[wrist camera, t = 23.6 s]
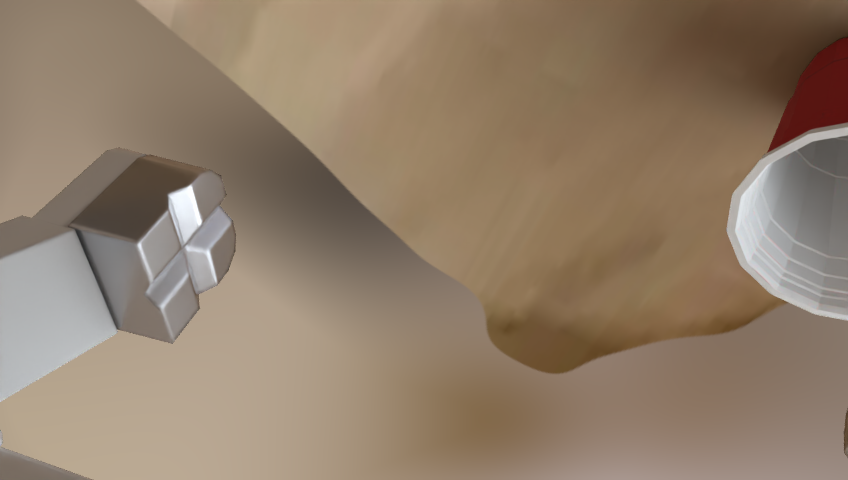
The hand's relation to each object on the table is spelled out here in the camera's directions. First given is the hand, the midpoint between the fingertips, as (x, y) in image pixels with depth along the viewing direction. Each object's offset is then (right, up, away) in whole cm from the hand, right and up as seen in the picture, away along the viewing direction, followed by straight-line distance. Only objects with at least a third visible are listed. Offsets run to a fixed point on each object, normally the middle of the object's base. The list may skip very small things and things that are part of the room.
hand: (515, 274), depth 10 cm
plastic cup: (+21, +8, +30) cm, 38 cm away
